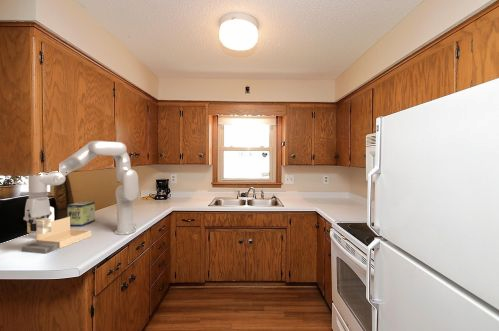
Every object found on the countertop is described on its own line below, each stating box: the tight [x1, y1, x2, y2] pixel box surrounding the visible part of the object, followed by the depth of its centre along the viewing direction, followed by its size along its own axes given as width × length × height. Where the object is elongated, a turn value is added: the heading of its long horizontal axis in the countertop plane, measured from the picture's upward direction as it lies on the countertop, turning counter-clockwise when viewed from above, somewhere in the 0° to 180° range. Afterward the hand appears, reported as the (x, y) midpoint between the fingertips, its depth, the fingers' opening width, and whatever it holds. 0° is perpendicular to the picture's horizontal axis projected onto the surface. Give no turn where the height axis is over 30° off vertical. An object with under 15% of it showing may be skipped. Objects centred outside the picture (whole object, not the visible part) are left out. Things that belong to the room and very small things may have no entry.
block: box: [26, 218, 51, 235], centre depth 135 cm, size 4×10×7 cm, turn 79°
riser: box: [21, 242, 58, 255], centre depth 136 cm, size 6×15×3 cm, turn 79°
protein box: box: [66, 201, 96, 227], centre depth 191 cm, size 10×16×16 cm
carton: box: [35, 216, 92, 250], centre depth 151 cm, size 21×16×12 cm
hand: (38, 229), depth 136 cm, fingers closed on block, 4 cm apart
